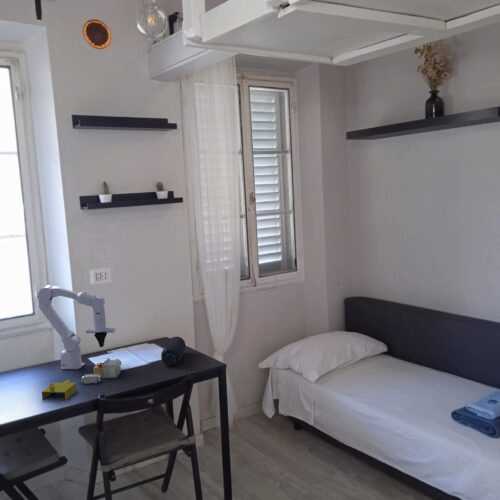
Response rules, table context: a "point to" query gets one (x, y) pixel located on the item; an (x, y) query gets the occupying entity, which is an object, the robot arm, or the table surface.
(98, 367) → the valve
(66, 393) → the bracket
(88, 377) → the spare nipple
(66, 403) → the table surface
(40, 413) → the table surface
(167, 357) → the portable speaker
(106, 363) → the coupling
